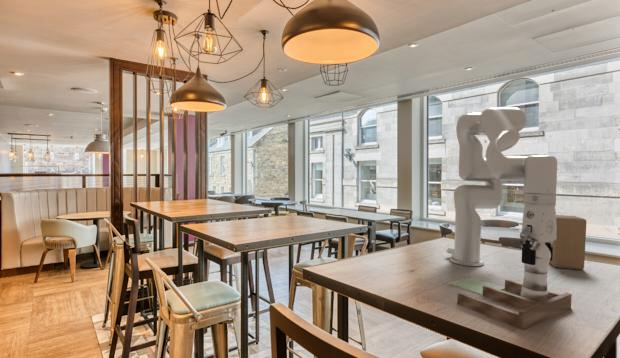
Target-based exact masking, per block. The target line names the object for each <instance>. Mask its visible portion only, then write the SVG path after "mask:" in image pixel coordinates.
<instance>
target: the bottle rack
mask: <svg viewBox="0 0 620 358" xmlns="http://www.w3.org/2000/svg"><path fill="white" fill-rule="evenodd" d="M522 286H523V282H522V283H521V282H518V281H514V280H511V279H508V278H506V279H505V280H504V288H505V289H504V290H505V291H504V290H498V289H495V288H492V287H489V286H483V295H482V297H484V298H487V299H490V300H493V301H496V302H498V303H501V304H504V305H506V306H507V305H508V306H510V307H512V308H516V309H518V312H516V311H514V310H510V309H507V308H504V307H502V306H499V305H496V304H493V303H491V302H488V301H485V300H483V299H480V298H477V297H473V296H471V295H469V294H466V293H463V292H458V293H457V297H456V298H457V300H456V302H457V305H459V306H461V307H464V308H467V309H469V310H472V311H475V312H477V313H479V314H482V315H484V316H487V317H488V318H493V319H495V320H497V321H500V322H503V323H505V324H507V325H510V326H512V327H516V328H517V329H521V330H523V331H524V330H526V329H529V328H531V327H533V326H535V325H537V324H540V323H541V322H544V321H546V320H548V319H550V318H553V317H555V316H558V315H560V314H561V313H564V312H565V311H567V310H570V309H572V296H573V295H572V293H569V292H565V293H561V294H560V293H557V292H553V291H551V290H548V295H549V299H548V300H546V301H543V302H541V303H539V302H536V301H533V300H530V299H527V298H523V297H521V294H520V293H521V289H522ZM507 291H509V292H507ZM510 292H511V293H510ZM512 292H513V293H512ZM514 293H516V294H519V295H516V294H514ZM532 325H533V326H532ZM530 326H531V327H530ZM528 327H529V328H528Z"/></svg>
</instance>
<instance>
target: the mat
mask: <svg viewBox="0 0 620 358" xmlns="http://www.w3.org/2000/svg"><path fill="white" fill-rule="evenodd" d="M447 284H448V285H451V286H453V287H458V288H460V289H463V290H465V291H469V292H471V293H475V294H476V295H477V294H478V295H481V296H483V286H489V287H492V288H495V289H498V290H501V291H504V290H506V289H505V286H504V287H503V286H499V285H498V284H497V285H496V284H493V283H490V282H487V281H484V280H480V279H477V278H474V277H471V276H470V277H466V278H461V279H458V280H457V279H456V280H454V281H450V282H447Z"/></svg>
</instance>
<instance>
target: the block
mask: <svg viewBox="0 0 620 358" xmlns="http://www.w3.org/2000/svg"><path fill="white" fill-rule="evenodd" d="M556 225H557V238H556V240H555V241H553V243H554V245H553V258H552V261H550V263H549V265H550V264H551V265H552V266H553V267H554V268H556V267H557V268H559V269H566V268H567V269H568V270H576V269H577V270H576V271H582V270H584V269H585V260H586V259H585V257H586V240H587V239H586V238H587V237H586V235H587V220H586V219H585V218H583V217H579V216H575V215H562V214H556ZM557 268H556V269H557Z"/></svg>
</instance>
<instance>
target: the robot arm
mask: <svg viewBox="0 0 620 358" xmlns="http://www.w3.org/2000/svg"><path fill="white" fill-rule="evenodd" d="M526 124H527V115H526V113H525V111H523V109H521V108H519V107H500V106H499V107H498V106H495V107H488V108H485V109H483V111H482V112H470V113H465V114H462V115H461V116H459V117H458V120H457V122H456V128H455V130H456V133H455V134H456V137H457V138H456V139H457V141H458V147H459V156H458V176H459V178H460V179H461V180H462V181H465V182H477V183H478V182H479V183H480V182H483V183H484V182H485V184H484V185H483V184H461V185H459V186H457V187H456V188H455V189H454V191H453V200H454V202H453V203H454V210H455V224H454V225H455V226H454V248H451V247H448V248H447V249H446V253H447V254H450V255H451V256H449V261H450V262H452V263H454V264H457V265H461V266H467V267H481V266H484V264H485V261H484V260H483V259H481V257H480V255H481V238H482V237H481V236H482V219H481V217H480V214H478V211H476V209H482V210H483V209H484V210H485V209H488V210H492V209H494V210H495V209H497V208H498V207H500V205H501V202H502V198H503V182H506V181H507V182H523V190H522V191H523V195H522V196H523V197H522V205H524V206H523V214H522V222H521V232H520V233H519V238H520V244H521V245H520V247H521V263H523V264H524V263H525V264H530V265H535V259H536V250H534V248H535V246H536V243H537V241H538V242H539V243H545V245H546V246H547V247H548V249H549V250H550V253H551V258H550V261H552V258H553V245H554V243H553V241H555V240H556V238H557V225H556V215H557V213H556V206H557V184H558V183H557V182H558V180H557V179H558V159H557V158H556V156H553V155H550V154H549V155H547V154H544V155H543V154H540V155H539V154H537V155H535V154H534V155H529V156H523V155H504V154H503V153H502V152H505V151H507V150H509V149H512V148H513V147H515V146H516V145H517V144H518V142H519V141H520V137H521V136H520V132H521V131H522V130H523V129H524V128H525V127H526ZM478 136H486V137H487V139H488V140H489V142H488V145H487V147H486V150H485V157H483V153H484V152H483V150H484V149H483V148H484V147H483V144H482V142H481V140H480V139H479V138H478ZM530 242H532V244H530Z"/></svg>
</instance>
